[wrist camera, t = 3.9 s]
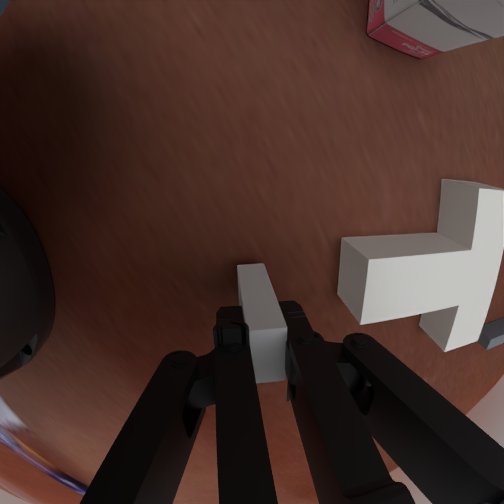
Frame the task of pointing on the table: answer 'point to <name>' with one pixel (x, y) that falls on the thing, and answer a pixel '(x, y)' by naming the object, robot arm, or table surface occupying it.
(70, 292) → the table surface
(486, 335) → the dock
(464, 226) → the t block
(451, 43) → the ink box
